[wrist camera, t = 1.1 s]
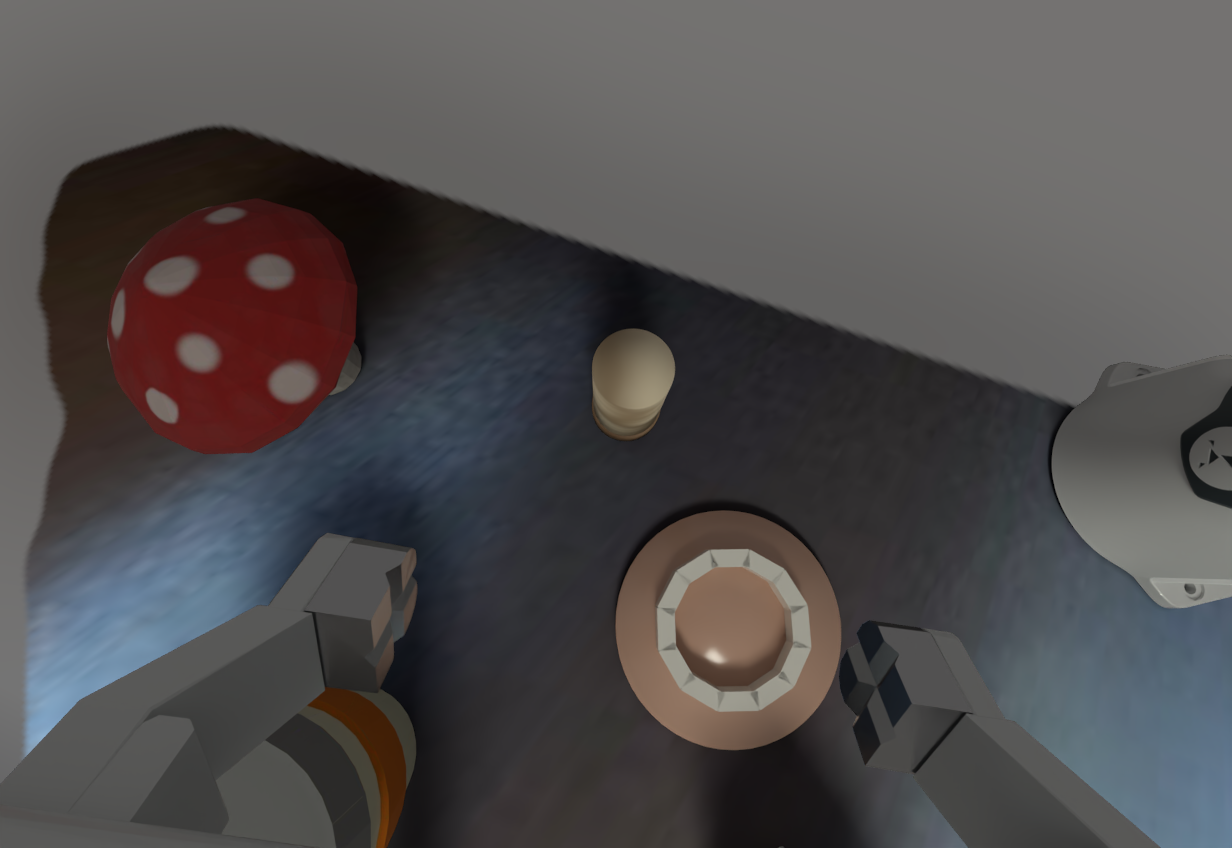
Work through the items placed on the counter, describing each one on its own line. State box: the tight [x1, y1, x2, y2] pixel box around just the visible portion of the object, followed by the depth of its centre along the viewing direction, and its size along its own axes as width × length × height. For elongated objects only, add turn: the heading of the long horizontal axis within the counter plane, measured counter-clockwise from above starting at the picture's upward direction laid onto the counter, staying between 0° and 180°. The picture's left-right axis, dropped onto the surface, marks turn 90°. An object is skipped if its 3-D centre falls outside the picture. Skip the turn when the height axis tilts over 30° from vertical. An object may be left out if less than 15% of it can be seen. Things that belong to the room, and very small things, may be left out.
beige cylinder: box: [592, 329, 675, 441], centre depth 38 cm, size 5×5×10 cm
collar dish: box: [615, 510, 841, 750], centre depth 39 cm, size 16×16×2 cm
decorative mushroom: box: [107, 198, 361, 454], centre depth 36 cm, size 16×16×15 cm
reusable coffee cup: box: [216, 687, 416, 848], centre depth 30 cm, size 13×12×15 cm
